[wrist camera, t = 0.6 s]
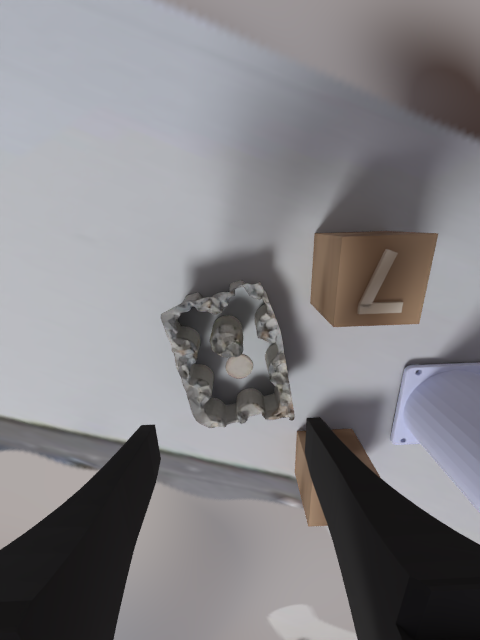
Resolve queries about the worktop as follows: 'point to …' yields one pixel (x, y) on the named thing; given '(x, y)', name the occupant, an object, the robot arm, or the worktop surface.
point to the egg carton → (229, 360)
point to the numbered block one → (304, 479)
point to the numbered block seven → (371, 276)
